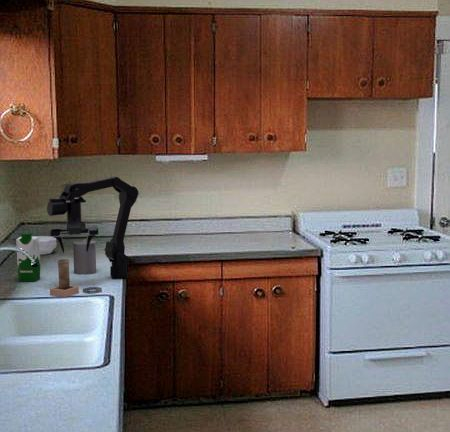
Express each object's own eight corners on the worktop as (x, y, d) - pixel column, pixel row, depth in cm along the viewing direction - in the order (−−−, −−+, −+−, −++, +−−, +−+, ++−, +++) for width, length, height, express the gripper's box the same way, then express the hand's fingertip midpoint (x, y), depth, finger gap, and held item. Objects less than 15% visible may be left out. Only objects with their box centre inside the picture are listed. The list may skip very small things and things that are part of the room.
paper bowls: (58, 254, 331) (58, 239, 330) (27, 257, 326) (27, 241, 325) (54, 250, 345) (54, 235, 344) (25, 252, 340) (24, 237, 339)
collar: (63, 290, 254) (63, 284, 253) (78, 293, 250) (78, 286, 250) (49, 295, 247) (49, 288, 247) (65, 297, 243) (64, 290, 243)
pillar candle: (72, 271, 291) (71, 237, 289) (94, 269, 294) (93, 236, 292) (75, 275, 282) (74, 241, 280) (98, 273, 285) (97, 240, 283)
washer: (101, 288, 257) (101, 286, 257) (102, 292, 250) (102, 290, 250) (82, 289, 255) (82, 287, 255) (83, 293, 249) (83, 291, 248)
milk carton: (16, 282, 269) (13, 234, 266) (22, 277, 278) (20, 231, 275) (37, 282, 269) (35, 234, 267) (42, 277, 278) (41, 231, 276)
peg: (69, 292, 251) (67, 259, 250) (71, 294, 248) (70, 260, 246) (57, 293, 250) (56, 260, 248) (59, 295, 246) (58, 261, 244)
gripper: (49, 217, 253) (50, 256, 254) (98, 215, 257) (99, 254, 259) (50, 213, 263) (51, 251, 265) (97, 212, 268) (98, 250, 269)
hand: (75, 252), depth 264 cm, fingers open, 9 cm apart
